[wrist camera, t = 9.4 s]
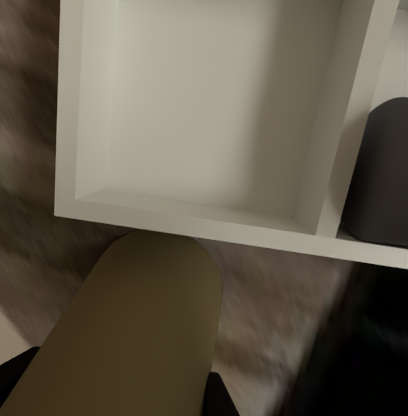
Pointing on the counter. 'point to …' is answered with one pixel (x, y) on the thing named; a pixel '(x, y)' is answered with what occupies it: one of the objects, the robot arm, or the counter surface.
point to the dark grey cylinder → (381, 178)
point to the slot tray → (225, 116)
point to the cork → (130, 335)
